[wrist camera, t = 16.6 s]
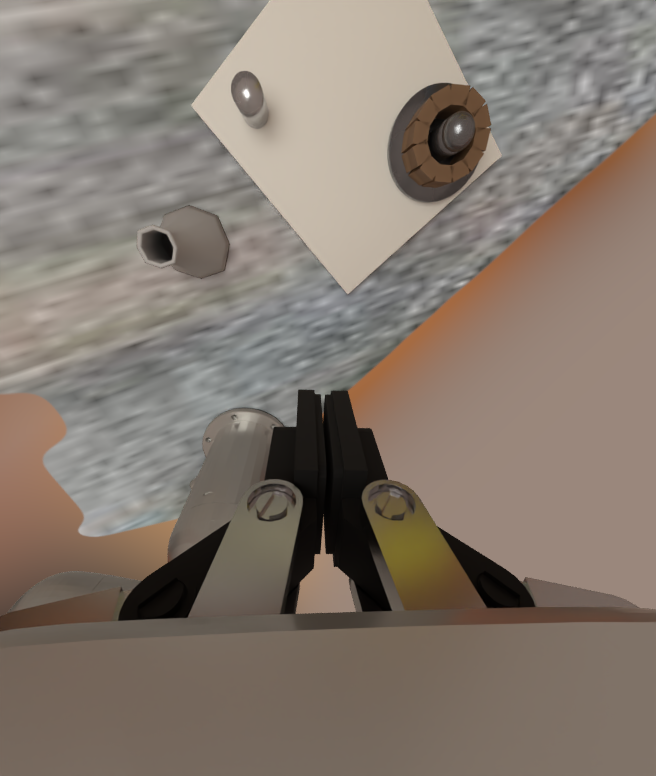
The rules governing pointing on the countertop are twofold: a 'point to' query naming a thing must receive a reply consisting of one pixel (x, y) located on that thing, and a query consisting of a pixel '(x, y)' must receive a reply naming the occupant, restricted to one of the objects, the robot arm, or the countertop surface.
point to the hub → (430, 146)
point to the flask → (186, 242)
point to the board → (335, 120)
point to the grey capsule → (250, 99)
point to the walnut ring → (417, 132)
